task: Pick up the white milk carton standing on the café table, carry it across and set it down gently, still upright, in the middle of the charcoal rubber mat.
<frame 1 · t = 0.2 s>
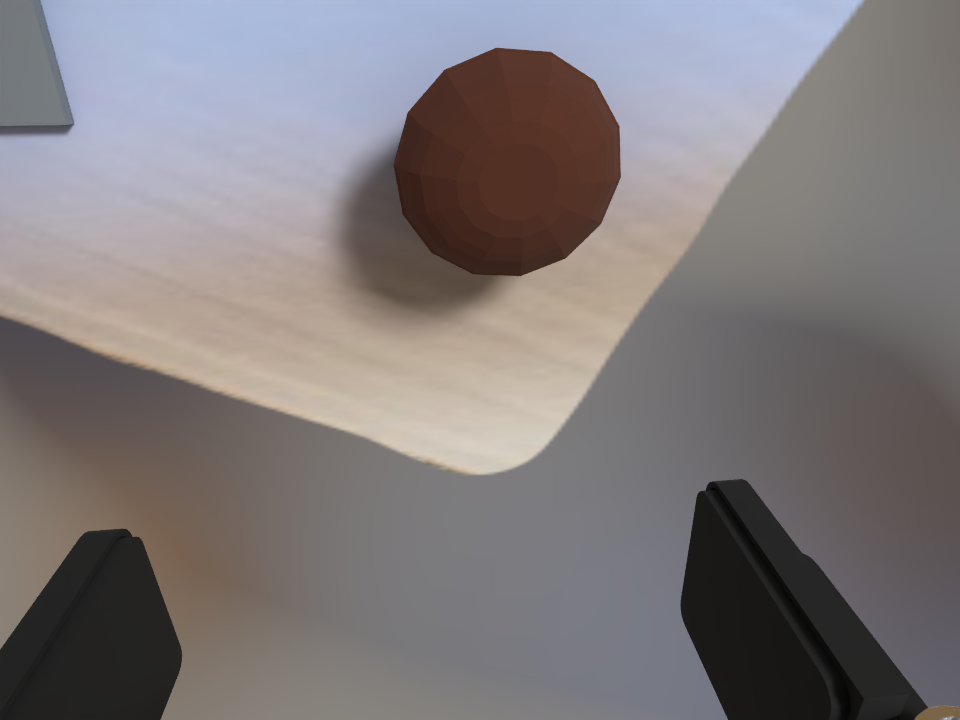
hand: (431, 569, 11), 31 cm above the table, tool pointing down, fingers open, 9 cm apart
muffin: (495, 152, 38), on the table
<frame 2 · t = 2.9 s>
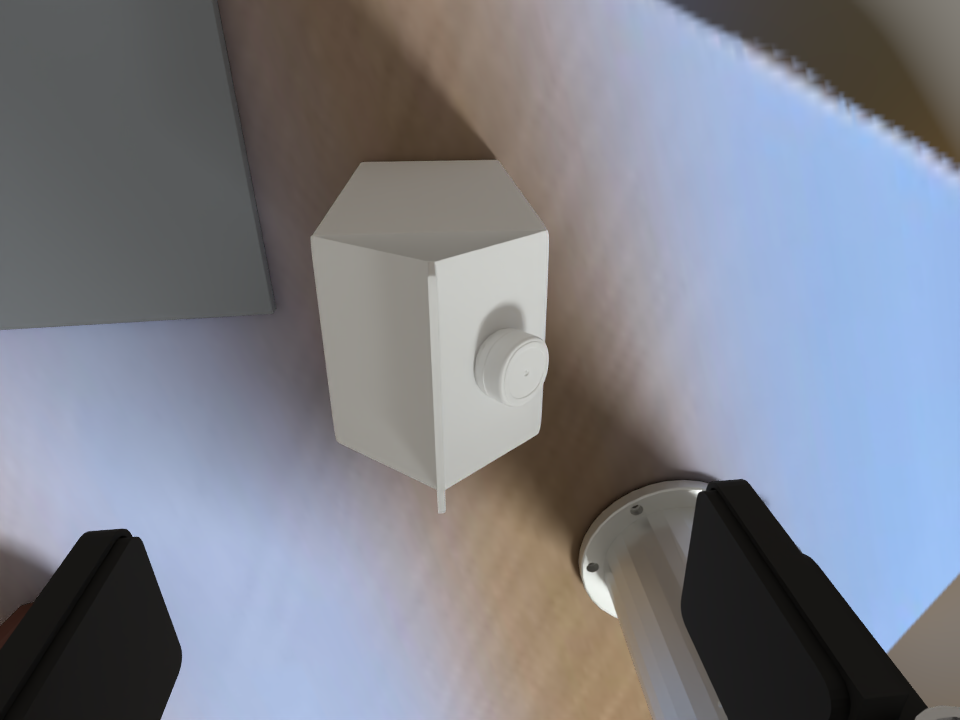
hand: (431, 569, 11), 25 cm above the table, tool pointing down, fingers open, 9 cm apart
mat: (82, 166, 30), on the table
milk carton: (432, 227, 33), on the table
muffin: (81, 636, 44), on the table
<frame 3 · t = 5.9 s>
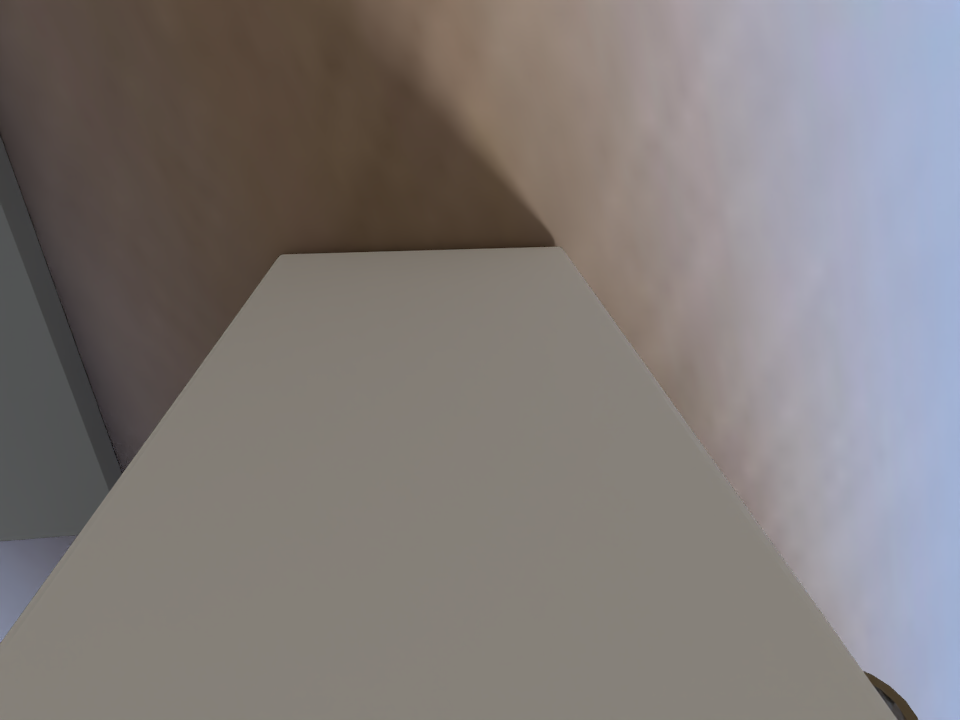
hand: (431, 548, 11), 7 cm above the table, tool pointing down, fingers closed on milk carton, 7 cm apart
milk carton: (428, 368, 17), on the table, touching gripper
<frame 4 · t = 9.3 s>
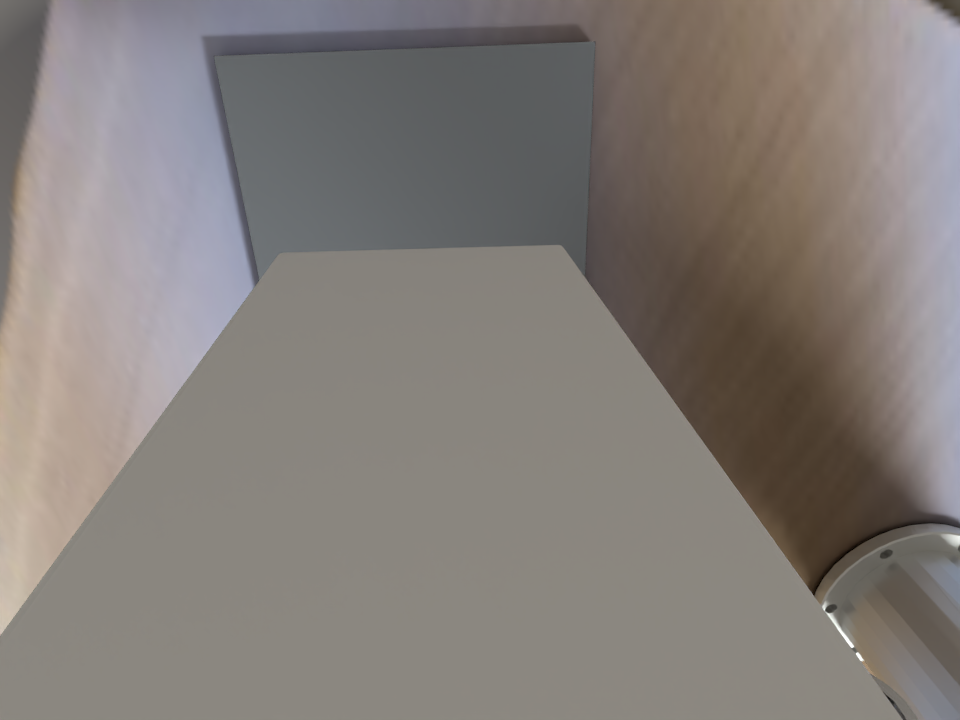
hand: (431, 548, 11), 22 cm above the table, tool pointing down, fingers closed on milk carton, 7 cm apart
mat: (422, 231, 30), on the table
milk carton: (428, 367, 17), point 15 cm above the table, touching gripper
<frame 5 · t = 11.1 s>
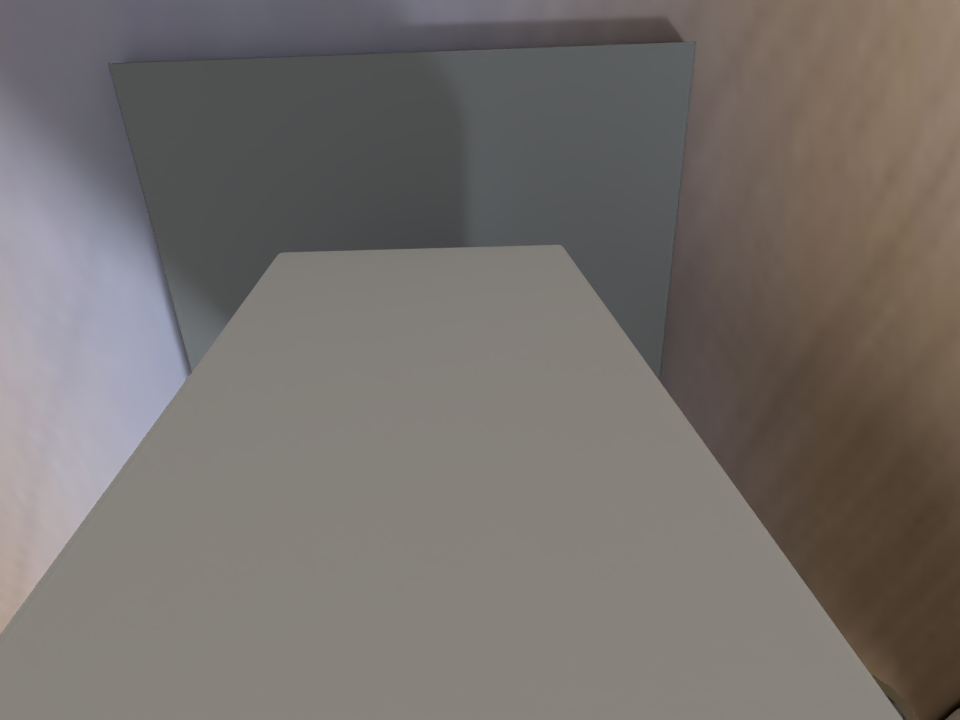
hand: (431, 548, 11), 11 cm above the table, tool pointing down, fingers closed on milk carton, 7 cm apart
mat: (429, 313, 21), on the table
milk carton: (428, 367, 17), point 4 cm above the table, touching gripper
when the fingers open (9 cm above the table, at t = 12.7 s): milk carton stays where it is, resting on mat.
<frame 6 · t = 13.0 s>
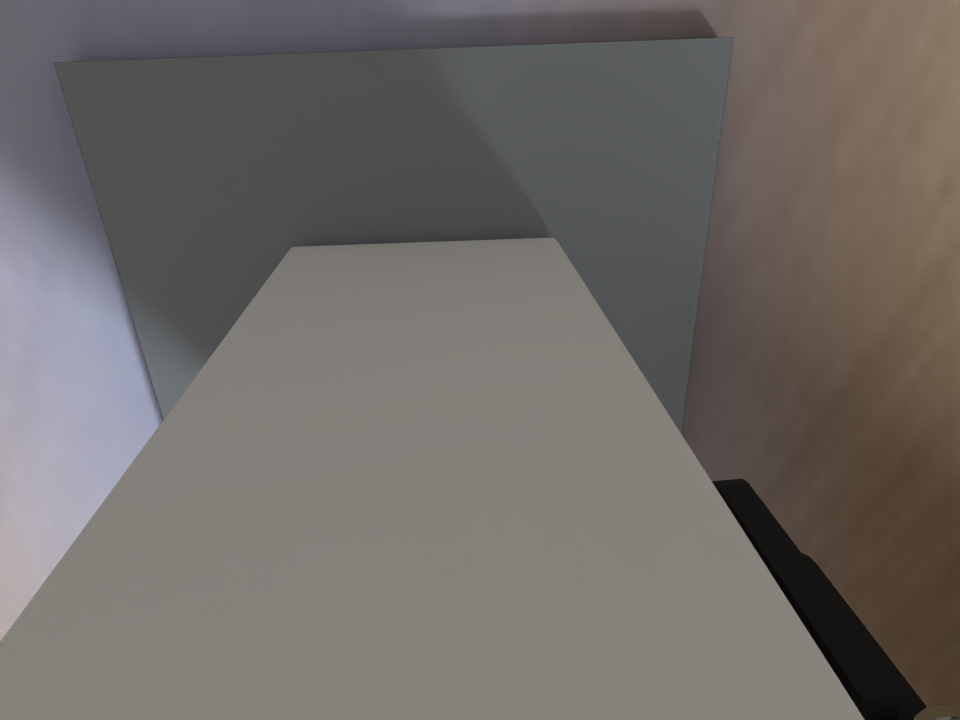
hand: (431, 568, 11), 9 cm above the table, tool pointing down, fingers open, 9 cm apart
mat: (428, 342, 19), on the table
milk carton: (431, 354, 18), point 1 cm above the table, touching mat
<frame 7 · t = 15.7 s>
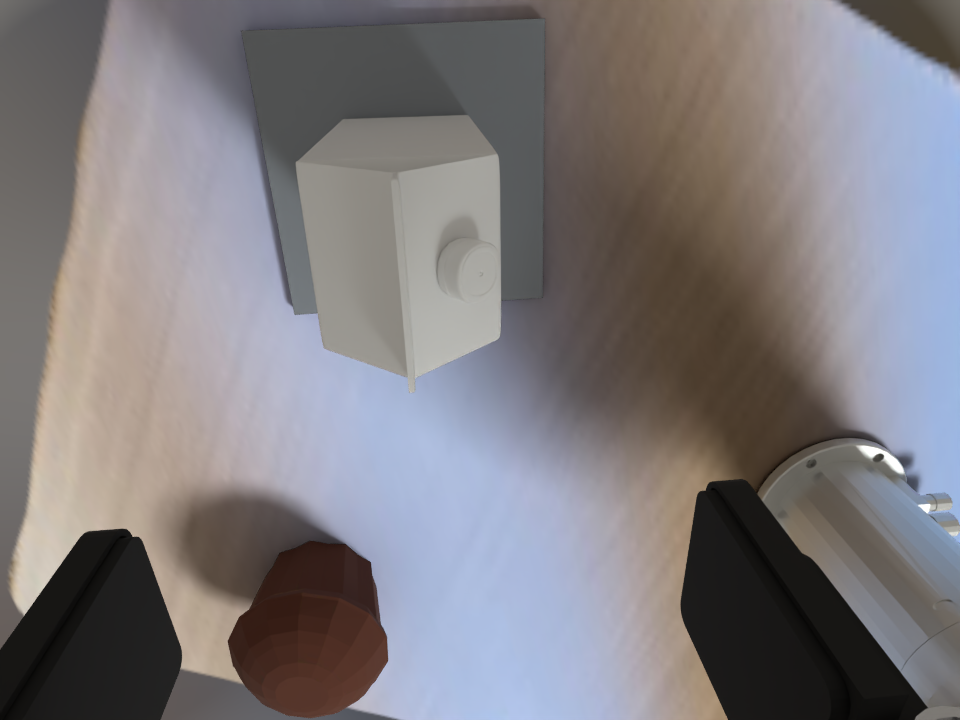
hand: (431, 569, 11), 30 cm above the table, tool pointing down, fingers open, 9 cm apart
mat: (409, 176, 37), on the table
milk carton: (410, 180, 36), point 1 cm above the table, touching mat
muffin: (322, 580, 51), on the table
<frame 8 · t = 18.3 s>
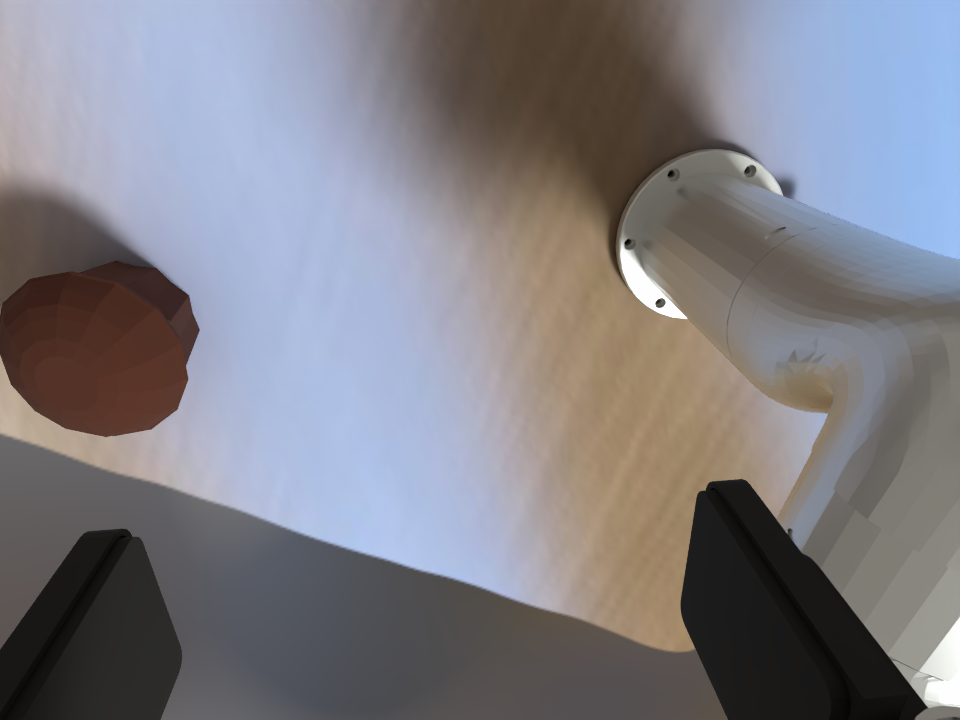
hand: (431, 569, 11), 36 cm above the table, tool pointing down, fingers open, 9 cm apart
muffin: (138, 318, 46), on the table
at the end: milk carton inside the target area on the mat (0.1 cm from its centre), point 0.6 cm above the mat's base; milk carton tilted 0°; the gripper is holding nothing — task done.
